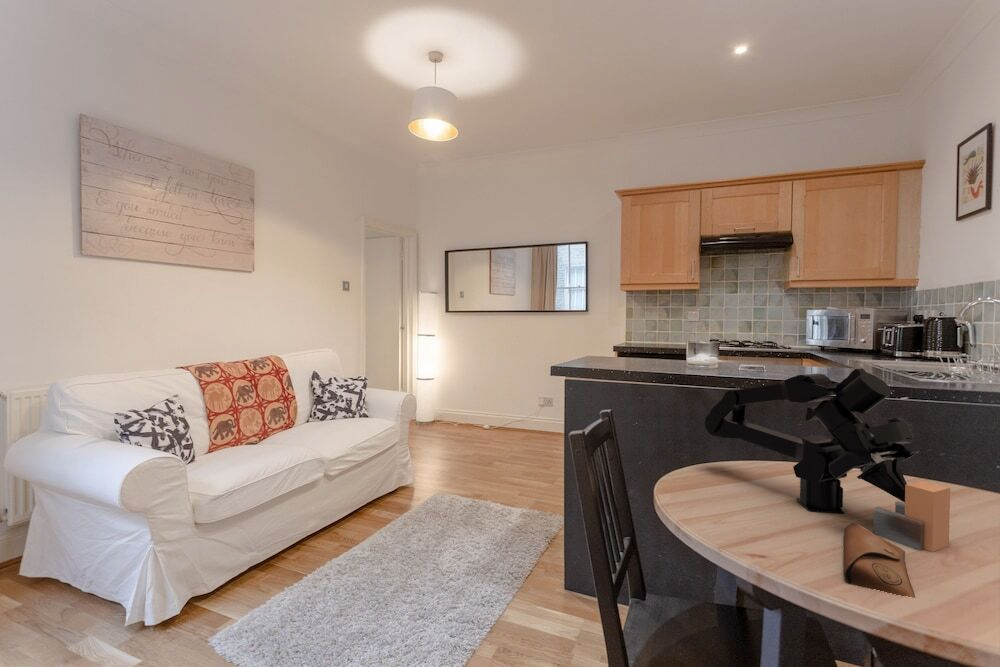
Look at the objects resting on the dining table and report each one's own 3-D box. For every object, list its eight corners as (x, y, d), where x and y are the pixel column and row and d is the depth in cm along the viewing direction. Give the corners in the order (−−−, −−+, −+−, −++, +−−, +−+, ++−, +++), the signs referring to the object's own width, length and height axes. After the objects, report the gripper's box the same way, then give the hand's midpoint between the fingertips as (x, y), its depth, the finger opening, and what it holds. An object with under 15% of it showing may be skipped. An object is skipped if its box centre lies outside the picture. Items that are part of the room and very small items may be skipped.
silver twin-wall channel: (873, 534, 86) (873, 507, 86) (898, 527, 89) (898, 501, 89) (919, 552, 80) (920, 522, 80) (945, 543, 83) (946, 515, 83)
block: (904, 541, 83) (905, 484, 83) (920, 536, 85) (921, 480, 85) (932, 552, 79) (933, 492, 79) (948, 546, 81) (950, 487, 81)
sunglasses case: (921, 601, 66) (890, 553, 67) (865, 612, 69) (837, 566, 71) (905, 550, 80) (880, 511, 82) (859, 560, 84) (836, 523, 86)
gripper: (847, 406, 85) (920, 488, 75) (908, 399, 92) (982, 472, 82) (802, 440, 92) (864, 519, 82) (862, 431, 100) (925, 502, 90)
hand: (911, 502), depth 84 cm, fingers closed, pressing on block
